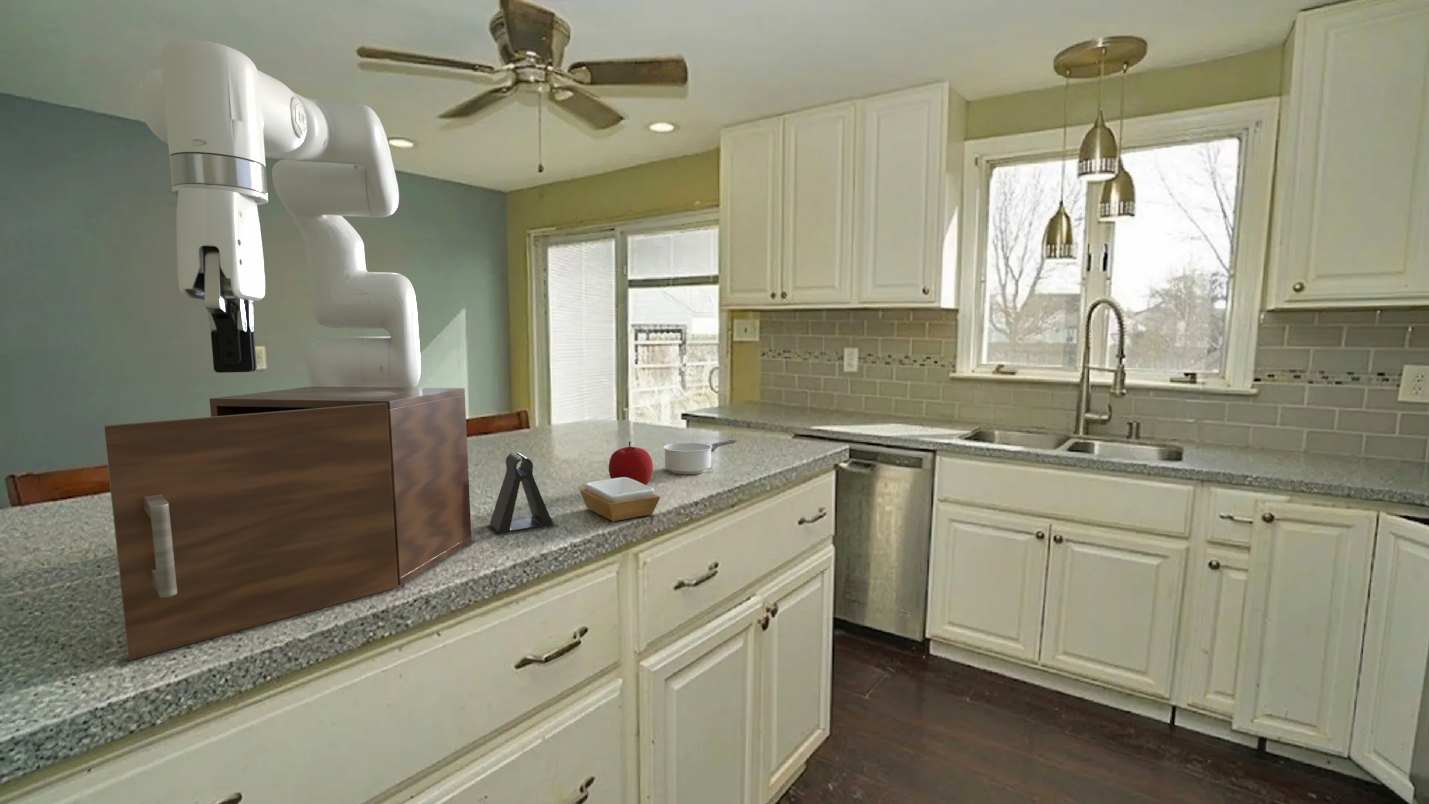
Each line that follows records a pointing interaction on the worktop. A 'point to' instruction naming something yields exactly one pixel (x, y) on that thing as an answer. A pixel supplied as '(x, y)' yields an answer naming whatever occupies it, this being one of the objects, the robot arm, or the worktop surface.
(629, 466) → the apple
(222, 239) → the robot arm
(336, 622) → the worktop surface
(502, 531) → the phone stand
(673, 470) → the saucepan
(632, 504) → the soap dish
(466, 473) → the cupboard
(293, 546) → the cupboard door
